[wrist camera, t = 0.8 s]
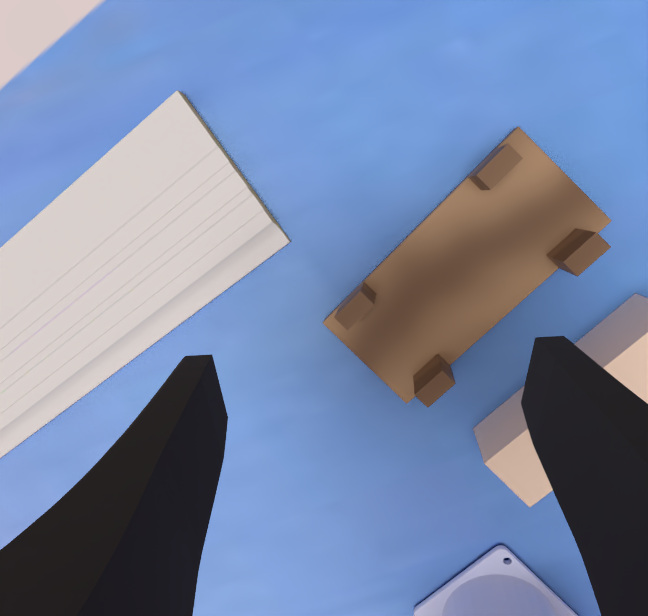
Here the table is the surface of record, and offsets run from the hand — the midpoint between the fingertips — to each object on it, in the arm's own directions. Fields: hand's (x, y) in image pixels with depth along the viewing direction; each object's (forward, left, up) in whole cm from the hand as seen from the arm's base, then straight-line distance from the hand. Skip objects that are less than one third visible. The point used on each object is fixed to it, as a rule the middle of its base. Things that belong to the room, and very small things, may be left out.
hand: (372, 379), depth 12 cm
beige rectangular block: (-13, -2, -19) cm, 23 cm away
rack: (-3, -2, -19) cm, 20 cm away
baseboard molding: (+12, +18, -20) cm, 29 cm away
